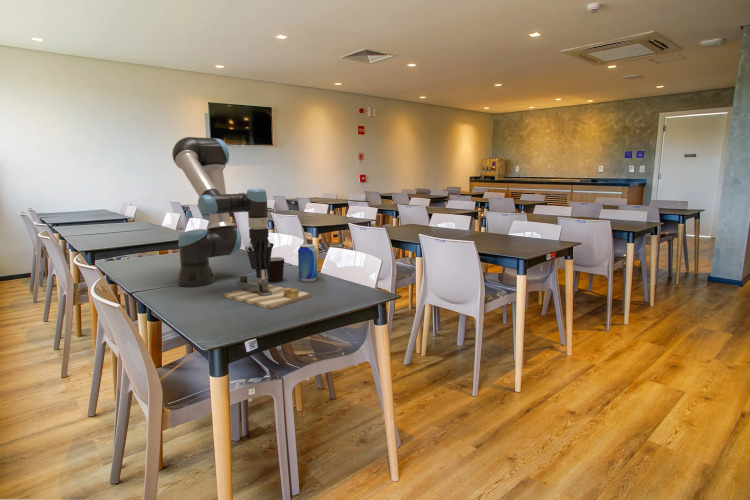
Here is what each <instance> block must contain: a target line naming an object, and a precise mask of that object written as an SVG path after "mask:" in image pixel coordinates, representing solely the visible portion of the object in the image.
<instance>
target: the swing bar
mask: <svg viewBox="0 0 750 500" xmlns="http://www.w3.org/2000/svg"><path fill="white" fill-rule="evenodd" d="M236 287H237V288H240V289H241V288H242V289H249V290H253V291H258V292H261V291H262V284H261V283H258V282H257V281H251V280H248V276H247V275H241V276H239V280H237V281H236Z"/></svg>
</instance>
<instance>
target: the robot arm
mask: <svg viewBox="0 0 750 500" xmlns="http://www.w3.org/2000/svg"><path fill="white" fill-rule="evenodd" d="M172 159H173V162H174V164H175V165H176V167H177V168H179V169H180V170H182V171H183V173H184V175H185V176H186V178H187V180H188V182H189V183H190V185H191V186H192V188H193V189H194V191H195V192H196V194H197V195H198V200H197V207H198V209H199V211H200V213H201V214H203V215H209V220H210V225H209V226H208V227H207V230H206V229H203V228H199V229H191V230H187V231H184V232H181V233H180V234H179V235H178V248H179V249H178V251H179V260H180V261H179V262H180V269H179V274H178V276H177V284H178V286H179V287H184V288H185V287H188V288H191V287H193V288H194V287H201V286H208V285H210V284H213V283H214V282H215V275H214V273H213V270H212V268H211V266H210V260H209V259H211V258H217V257H225V256H230V255H236V254H237V253H239V251H240V249H241V247H242V235H241V233H240V230H239V229H237V228H236V227H235V224H234V223H232V222H231V218H230V217H231V216H230V214H231V213H233V214H234V213H247V215H248V216H247V219H248V228H249V229H248V235H249V236H248V237H249V245H248V246H245V248H244V249H245V251H246V253H247V256H248V260H249V264H250V268H251V270H254V271H256V272H255V274H256V279H257V283H261V284H262V280H263V279H266V278H267V277H266V276H267V270H266V269H268V268H267V267H269V266H270V260H271V258H272V252H273V249H274V245H275V244H274V243H273V242H270V240H269V234H270V233H269V228H268V227H269V218H268V217H269V215H268V213H269V212H268V197H267V191H266V190H265V188H264V189H263V188H249V189H247V190H246V193H245V192H239V193H227V192H226V191H227V190H226V183H225V177H224V170H225V169H226V164H228V163H229V160H230V151H229V148H228V146H227V144H226V142H225V141H224V140H223V139H221V138H215V137H195V136H186V137H183V138H181V139H179V140H178V141H177V142H176V143H175V145H174V146H173V149H172Z"/></svg>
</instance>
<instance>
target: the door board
mask: <svg viewBox="0 0 750 500" xmlns="http://www.w3.org/2000/svg"><path fill="white" fill-rule="evenodd" d="M223 297H224V298H226V299H229V300H234V301H238V302H241V303H245V304H250V305H253V306H257V307H260V308H265V309H269V310H274V309H275V310H276V309H278V308H280V307H284V306H288V305H289V304H293V303H296V302H299V301H302V300H304V299H308V298H310V297H312V293H310V292H305V291H301V290H299V289H298V288H293V287H282V286H276V285H273V284H269V281H268V278H267V279H266V278H265V279H263V280H262V291H261V292H258V291H253V290H249V289H245V288H242V289H241V288H240V289H239V290H234V291H231V292H227V293H224V294H223Z"/></svg>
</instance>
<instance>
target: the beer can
mask: <svg viewBox="0 0 750 500" xmlns="http://www.w3.org/2000/svg"><path fill="white" fill-rule="evenodd" d="M297 258H298V260H297V261H298V278H299V280H300V281H301V282H304V283H305V282H307V283H309V282H314V281H315V282H316V280H317V278H319V277H318V274H319V273H318V250H317V248H316V246H315V245H314V244H311V243H305V244H300V245H299V248H298V249H297Z"/></svg>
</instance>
